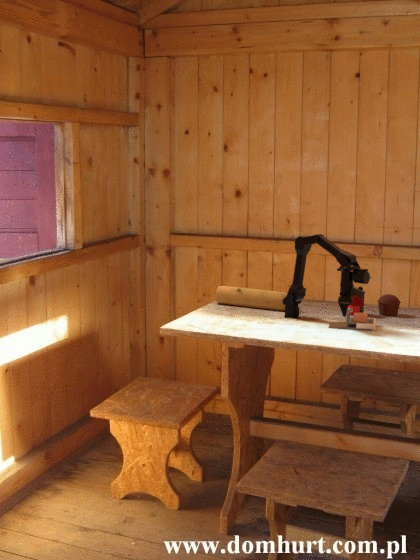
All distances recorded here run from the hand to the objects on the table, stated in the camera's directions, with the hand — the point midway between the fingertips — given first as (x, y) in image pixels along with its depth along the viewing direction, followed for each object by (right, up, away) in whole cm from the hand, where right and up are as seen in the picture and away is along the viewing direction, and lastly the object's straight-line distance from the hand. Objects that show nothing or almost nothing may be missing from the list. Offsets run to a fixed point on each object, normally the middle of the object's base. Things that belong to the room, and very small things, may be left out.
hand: (344, 314), depth 369 cm
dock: (+3, -7, 0) cm, 7 cm away
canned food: (+10, -1, +29) cm, 31 cm away
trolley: (+6, -5, 0) cm, 7 cm away
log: (-40, +2, +43) cm, 59 cm away
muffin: (+27, -1, +30) cm, 40 cm away
